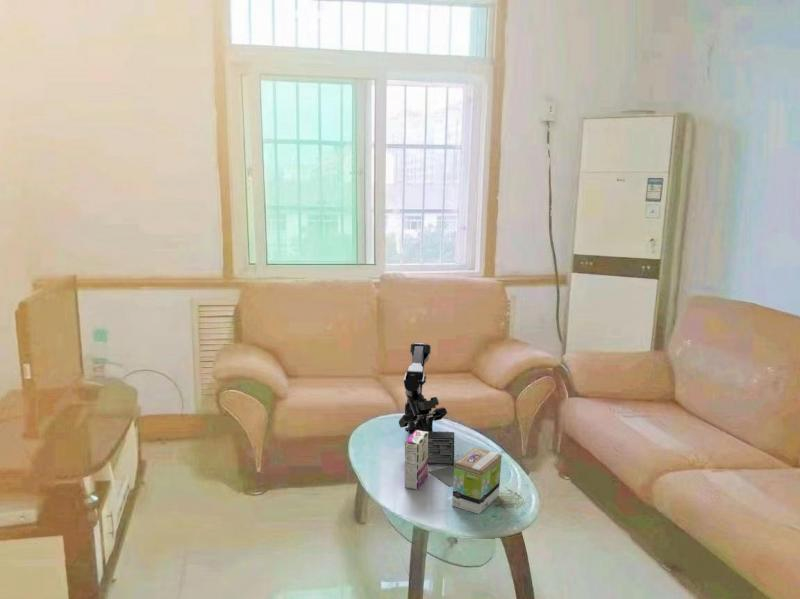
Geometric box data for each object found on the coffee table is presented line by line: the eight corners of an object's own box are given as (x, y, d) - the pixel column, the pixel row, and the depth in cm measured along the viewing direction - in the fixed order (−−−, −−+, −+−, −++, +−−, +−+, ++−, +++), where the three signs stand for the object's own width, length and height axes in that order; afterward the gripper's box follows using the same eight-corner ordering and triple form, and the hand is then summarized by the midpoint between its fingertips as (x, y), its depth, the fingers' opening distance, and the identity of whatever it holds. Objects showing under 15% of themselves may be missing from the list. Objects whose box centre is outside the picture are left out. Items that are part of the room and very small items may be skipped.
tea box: (480, 515, 189) (482, 470, 187) (451, 506, 194) (452, 462, 192) (499, 495, 202) (502, 453, 199) (471, 487, 207) (473, 445, 204)
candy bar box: (414, 473, 216) (415, 429, 213) (428, 476, 214) (429, 431, 211) (403, 487, 205) (404, 441, 202) (417, 490, 204) (419, 443, 201)
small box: (454, 458, 228) (455, 431, 227) (454, 465, 222) (454, 438, 220) (425, 457, 229) (426, 430, 228) (424, 464, 223) (425, 436, 221)
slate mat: (429, 472, 217) (429, 471, 217) (465, 462, 225) (465, 461, 225) (449, 486, 207) (449, 485, 207) (486, 475, 215) (486, 475, 215)
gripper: (403, 394, 226) (418, 433, 218) (445, 386, 235) (461, 424, 228) (392, 408, 234) (406, 446, 226) (433, 400, 243) (448, 436, 236)
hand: (431, 437), depth 229 cm, fingers closed
